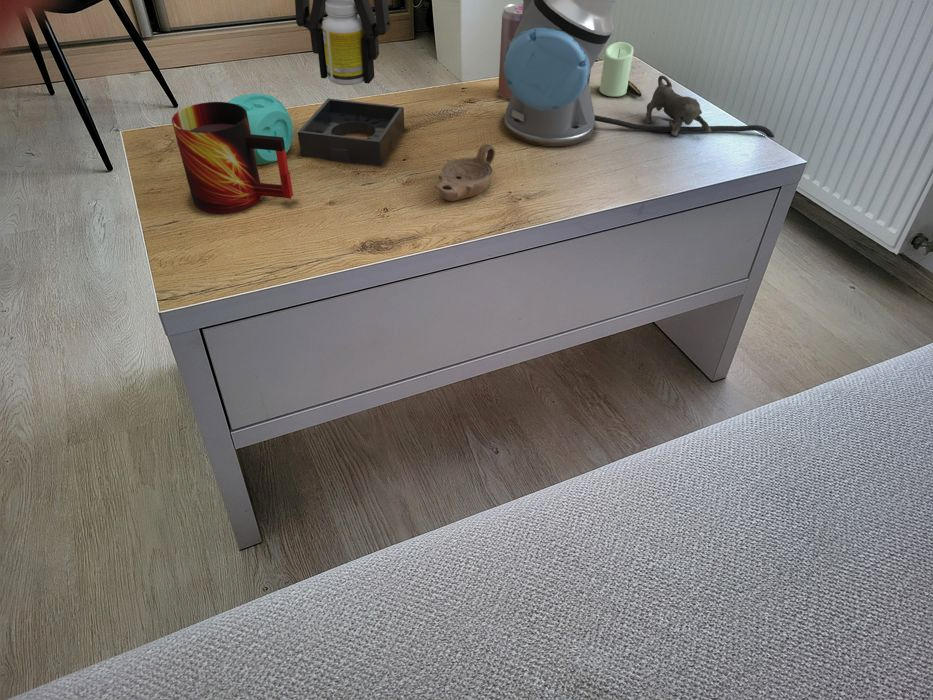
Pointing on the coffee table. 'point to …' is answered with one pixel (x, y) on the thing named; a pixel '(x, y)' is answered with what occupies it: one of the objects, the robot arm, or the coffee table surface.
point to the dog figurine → (675, 107)
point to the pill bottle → (343, 42)
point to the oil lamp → (466, 175)
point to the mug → (225, 158)
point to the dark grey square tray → (353, 129)
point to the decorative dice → (266, 122)
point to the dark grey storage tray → (356, 147)
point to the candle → (616, 69)
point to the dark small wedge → (633, 89)
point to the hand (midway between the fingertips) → (347, 77)
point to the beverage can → (508, 41)
